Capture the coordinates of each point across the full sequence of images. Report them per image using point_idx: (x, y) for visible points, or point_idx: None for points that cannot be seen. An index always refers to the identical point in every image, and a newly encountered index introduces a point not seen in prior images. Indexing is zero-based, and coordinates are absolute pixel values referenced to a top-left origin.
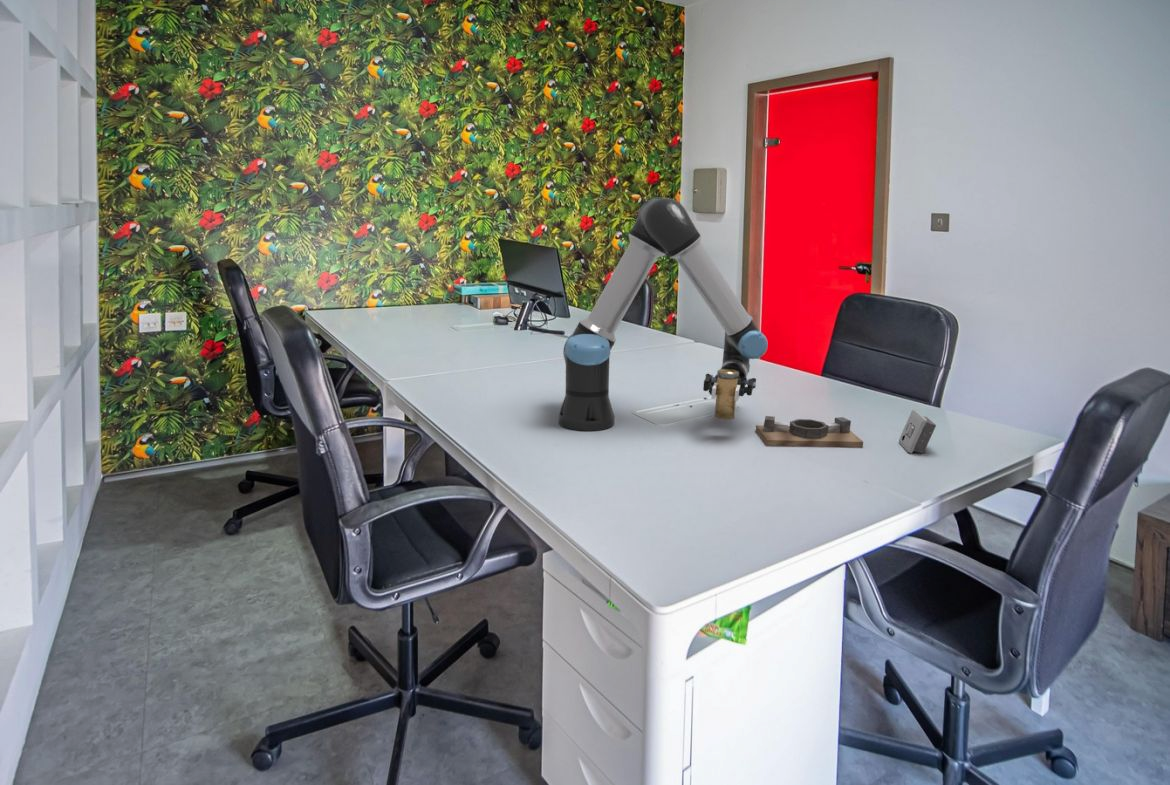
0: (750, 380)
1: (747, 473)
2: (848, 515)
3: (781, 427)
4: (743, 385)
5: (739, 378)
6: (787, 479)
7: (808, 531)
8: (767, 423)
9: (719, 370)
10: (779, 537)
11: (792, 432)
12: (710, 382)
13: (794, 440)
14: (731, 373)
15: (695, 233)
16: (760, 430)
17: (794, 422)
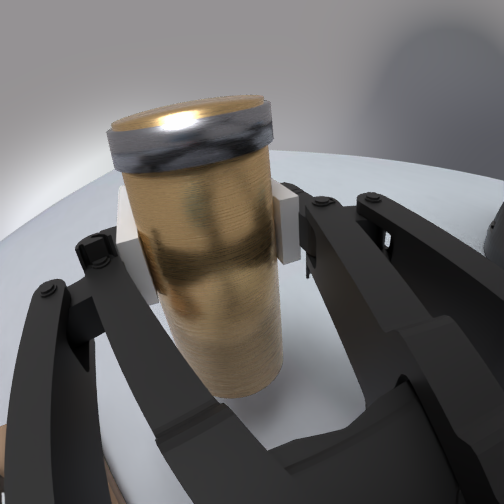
0: (33, 488)
1: None
2: (20, 235)
3: None
4: (94, 254)
5: (171, 434)
6: (57, 266)
7: (63, 205)
8: None
9: (246, 96)
10: (87, 193)
11: (2, 481)
12: (455, 312)
13: (5, 426)
14: (151, 110)
15: None
16: (112, 497)
17: None
